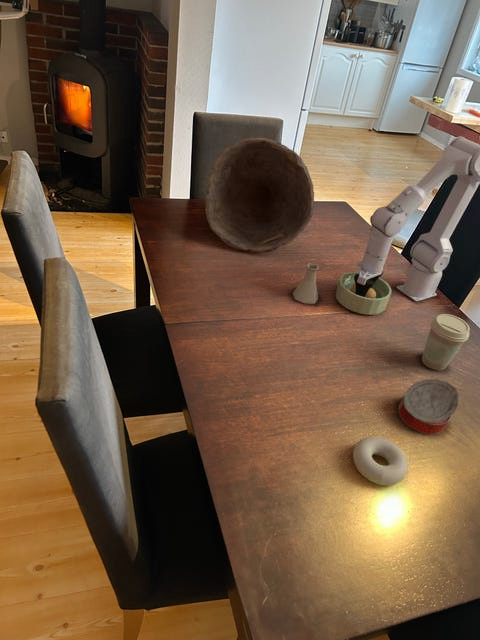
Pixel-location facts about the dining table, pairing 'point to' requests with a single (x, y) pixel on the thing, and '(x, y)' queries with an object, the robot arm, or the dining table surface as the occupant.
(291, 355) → the dining table surface
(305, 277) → the flask
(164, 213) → the dining table surface
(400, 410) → the canned food
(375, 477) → the donut
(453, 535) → the dining table surface
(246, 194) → the bowl
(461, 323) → the coffee cup
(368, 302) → the celadon bowl
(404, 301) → the dining table surface
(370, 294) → the potato
